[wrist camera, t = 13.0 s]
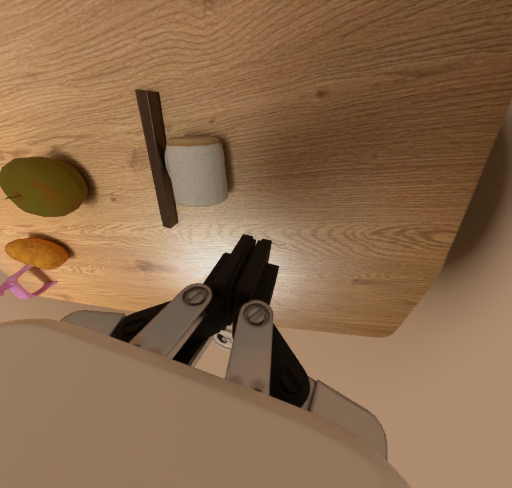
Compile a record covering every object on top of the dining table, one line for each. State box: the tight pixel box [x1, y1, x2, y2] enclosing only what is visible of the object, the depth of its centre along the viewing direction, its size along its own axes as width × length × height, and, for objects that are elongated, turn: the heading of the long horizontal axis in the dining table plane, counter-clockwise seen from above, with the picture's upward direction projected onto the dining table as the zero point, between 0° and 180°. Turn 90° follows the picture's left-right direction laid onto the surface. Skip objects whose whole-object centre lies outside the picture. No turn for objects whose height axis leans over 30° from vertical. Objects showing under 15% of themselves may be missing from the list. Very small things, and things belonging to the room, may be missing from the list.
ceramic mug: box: [165, 137, 228, 207], centre depth 27 cm, size 11×8×8 cm
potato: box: [5, 238, 68, 269], centre depth 50 cm, size 7×14×7 cm, turn 81°
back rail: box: [135, 89, 178, 228], centre depth 31 cm, size 3×20×2 cm, turn 174°
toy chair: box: [0, 264, 57, 299], centre depth 57 cm, size 8×9×15 cm
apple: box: [0, 157, 88, 217], centre depth 34 cm, size 10×10×11 cm
